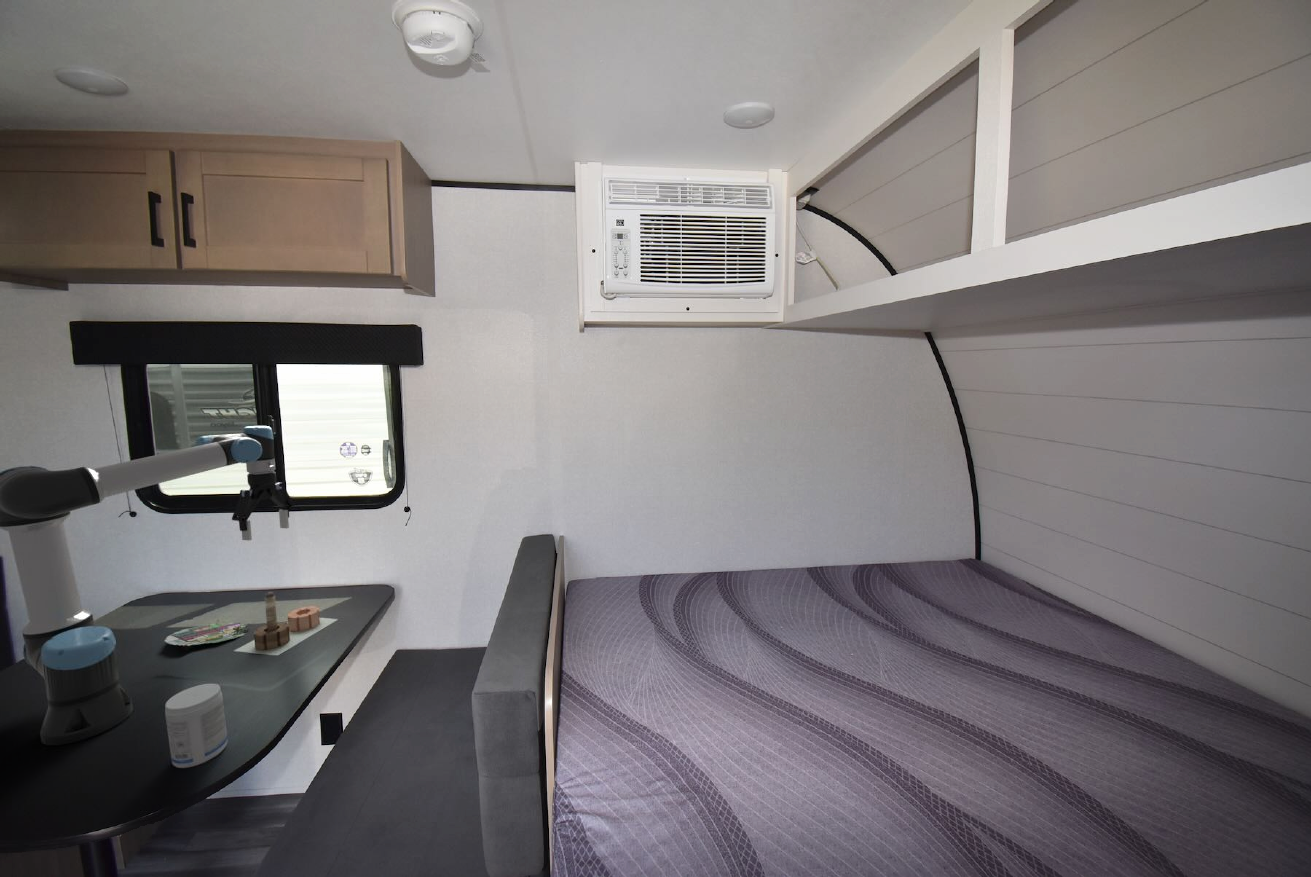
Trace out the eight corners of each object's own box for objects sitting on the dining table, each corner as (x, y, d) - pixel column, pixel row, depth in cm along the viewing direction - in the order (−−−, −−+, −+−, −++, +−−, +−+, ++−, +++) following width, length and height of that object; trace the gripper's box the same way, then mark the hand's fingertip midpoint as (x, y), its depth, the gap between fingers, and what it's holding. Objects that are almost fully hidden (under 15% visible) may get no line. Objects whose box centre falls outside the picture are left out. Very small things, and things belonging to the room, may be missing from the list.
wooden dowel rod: (273, 645, 158) (269, 594, 156) (266, 644, 158) (262, 593, 157) (280, 641, 160) (276, 590, 159) (273, 640, 161) (269, 590, 159)
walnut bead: (272, 651, 154) (271, 636, 154) (248, 649, 156) (246, 634, 155) (296, 637, 163) (295, 623, 162) (273, 635, 164) (272, 621, 164)
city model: (278, 628, 176) (278, 611, 176) (213, 657, 152) (213, 637, 152) (215, 626, 178) (215, 609, 178) (141, 653, 155) (142, 634, 155)
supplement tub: (225, 733, 120) (219, 677, 118) (230, 753, 114) (224, 694, 112) (169, 755, 113) (163, 695, 111) (172, 777, 107) (165, 715, 105)
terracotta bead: (304, 632, 166) (303, 618, 166) (282, 630, 167) (281, 616, 167) (325, 620, 175) (324, 607, 174) (304, 618, 176) (303, 605, 176)
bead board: (277, 659, 152) (277, 655, 152) (233, 654, 155) (233, 650, 155) (338, 622, 176) (338, 619, 176) (299, 618, 178) (299, 615, 178)
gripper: (233, 479, 151) (239, 546, 153) (303, 466, 175) (307, 523, 178) (213, 478, 152) (219, 544, 154) (285, 465, 176) (289, 522, 179)
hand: (266, 533), depth 166 cm, fingers open, 13 cm apart
